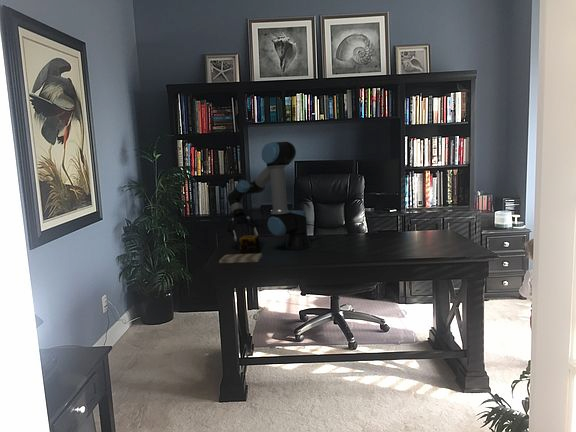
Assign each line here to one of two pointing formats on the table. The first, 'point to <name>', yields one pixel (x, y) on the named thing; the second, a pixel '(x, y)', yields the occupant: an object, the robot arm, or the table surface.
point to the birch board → (240, 258)
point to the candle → (249, 244)
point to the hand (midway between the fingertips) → (246, 238)
